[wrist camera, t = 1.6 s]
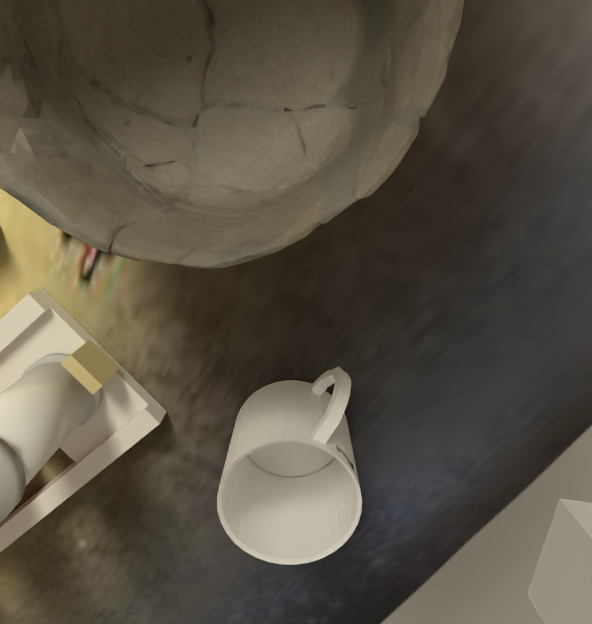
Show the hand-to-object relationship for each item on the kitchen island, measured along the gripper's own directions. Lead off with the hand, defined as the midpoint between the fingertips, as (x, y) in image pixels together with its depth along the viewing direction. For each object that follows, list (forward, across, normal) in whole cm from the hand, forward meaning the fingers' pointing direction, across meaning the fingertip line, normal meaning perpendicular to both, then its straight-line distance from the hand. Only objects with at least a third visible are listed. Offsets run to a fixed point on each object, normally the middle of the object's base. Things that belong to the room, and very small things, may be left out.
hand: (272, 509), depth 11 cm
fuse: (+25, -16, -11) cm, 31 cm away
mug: (+26, +3, -11) cm, 29 cm away
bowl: (+26, -6, +14) cm, 30 cm away
